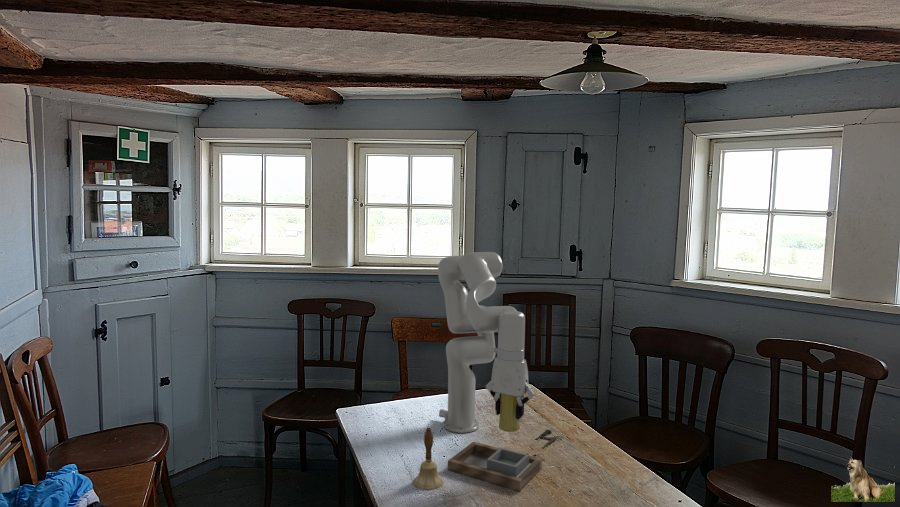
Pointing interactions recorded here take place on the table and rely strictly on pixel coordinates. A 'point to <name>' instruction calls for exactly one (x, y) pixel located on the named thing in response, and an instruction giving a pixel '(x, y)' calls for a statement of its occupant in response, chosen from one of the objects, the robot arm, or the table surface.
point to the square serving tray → (508, 462)
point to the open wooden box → (474, 465)
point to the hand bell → (428, 467)
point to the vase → (508, 414)
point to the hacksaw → (547, 438)
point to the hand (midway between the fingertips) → (509, 415)
